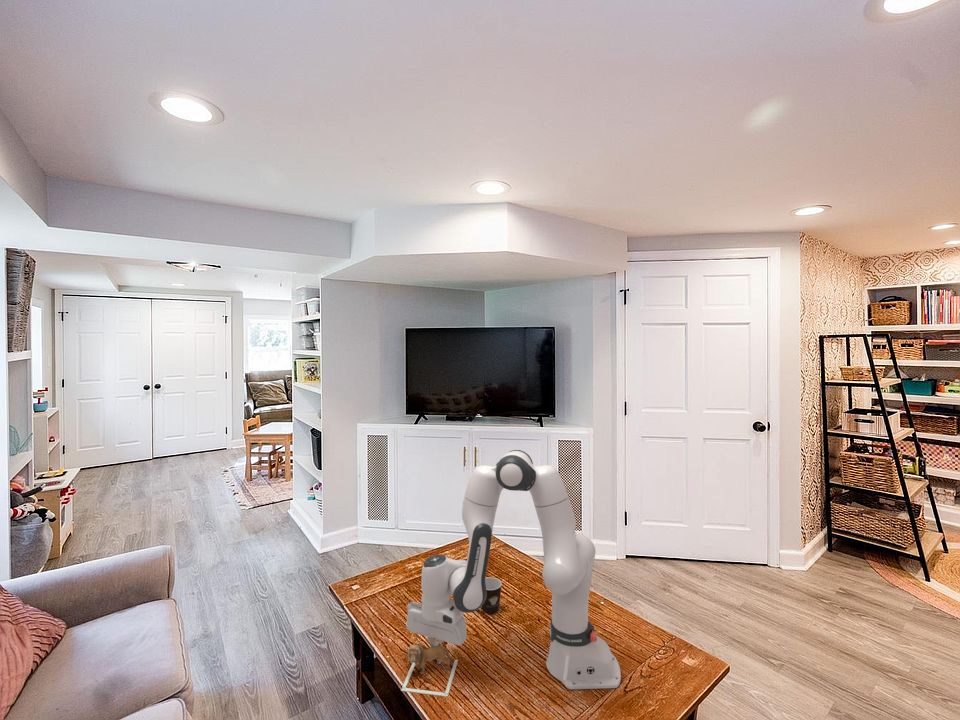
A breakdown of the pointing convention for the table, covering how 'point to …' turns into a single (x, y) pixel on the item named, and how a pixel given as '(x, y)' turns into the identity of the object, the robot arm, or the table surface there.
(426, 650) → the lion figurine
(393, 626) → the table surface
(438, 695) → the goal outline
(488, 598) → the coffee mug
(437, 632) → the robot arm
